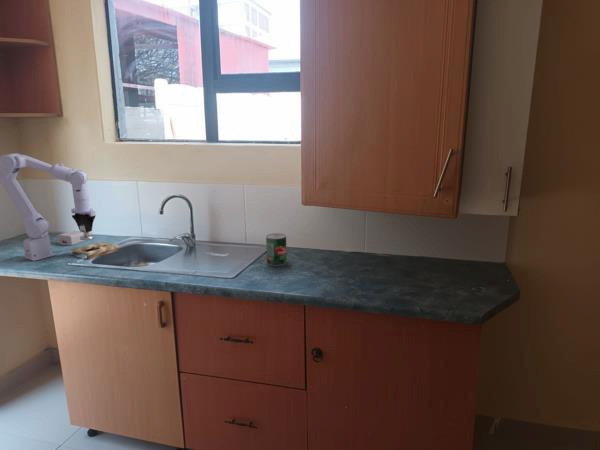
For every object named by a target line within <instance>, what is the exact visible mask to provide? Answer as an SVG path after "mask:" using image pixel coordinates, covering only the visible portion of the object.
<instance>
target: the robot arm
mask: <svg viewBox="0 0 600 450" xmlns="http://www.w3.org/2000/svg"><path fill="white" fill-rule="evenodd" d="M22 168H33V169H36V170H39V171H41V172H42V171H43V172H45V173H49V174H50V176H51V177H52V178H55V179H58V180H61V181H64V182H67V183H69V184H70V185H71V187H72V190H71V191H72V197H73V203H74V208H71V211H70V212H71V214H72V215H71V218H72V219H73V220H74V221H75V223H76V226H77V227H78V231H80V225H82V224H84V225H85V230H86V232H89V233H91V232H92V231H93V227H94V226H93V225H94V222H95V221H94V220H95V219H96V217H97V216H96V211H95V210H93V209H94V208H92V207H91V206H90V205H91V204H90V198H89V190H88V185H87V184H88V183H87V181H88V174H86V172H84V171H83V170H81V169H80V170H79V169H78V170H76V168H74V167H73V168H71V167H68V166H65V165H64V164H63V163H55V164H53V165H52V164H49V163H47V162H45V161H42V160H40V159H36V158H34V157H31V156H29V155H26V154H20V153H18V152H13V153H11V154H10V153H9V154H2V155H1V156H0V183H1V185H2V187H3V188H4V190H5V192H6V193H7V195H9V197H10V199H11V201H12V202H13V204H14V206H15V207H16V209H17V210H18V212H19V214H20V215H21V217H22V219H23V222H22V223H23V225H24V227H25V228H24V229H25V233H26V235H27V236H28V238H25V239H24V240H23V242H22V245H23V246H22V247H23V252H24V259H27V260H30V261H33V262H34V261H38V260H43V259H46V258H51V257H55V256H57V254H56V253H54V252H53V251H52V247H51V240H50V235H49V232H48V231H49V230H50V226H51V225H50V223H49V221H48V220H47V219H45V218H44V217H43V216H42V214H40V213H39V212H37V210H36V209H35V208H34V206H33V204H32V203H31V201H30V198H28V196H27V195H26V193H25V191H24V190H23V187H22V186H21V185H20V183H19V182H18V180H17V176H18V173H19V171H20V170H21V169H22Z"/></svg>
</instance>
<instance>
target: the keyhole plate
mask: <svg viewBox="0 0 600 450" xmlns="http://www.w3.org/2000/svg"><path fill="white" fill-rule="evenodd" d="M71 250H72V251H71V252H72V256H78V255H84V256H86V259H87V260H91V259H96V258H99V257H103V256H106V255H110V254H112V253H116V252H120V251H119V245H117V244H113V243H109V242H104V241H101V242H97V243H92V244H90V245H89V244H88V245H85V246H82V247H80V246H79V247H78V248H73V249H71Z"/></svg>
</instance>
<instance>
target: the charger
mask: <svg viewBox="0 0 600 450" xmlns="http://www.w3.org/2000/svg"><path fill="white" fill-rule="evenodd" d="M92 234H93V232H92V231H90V232H89V235H92ZM81 236H84V232H80V230H71V231H68V232H64V233H60V234H57V235H56V239H57V244H58V245H64V246H70V247H71V246H75V245H77V244H81V243H84V242H87V241H88V240H80V237H81Z"/></svg>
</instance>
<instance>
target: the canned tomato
mask: <svg viewBox="0 0 600 450" xmlns="http://www.w3.org/2000/svg"><path fill="white" fill-rule="evenodd" d="M265 244H266V247H265V248H266V264H267V265H268V266H271V267H272V266H273V267H280V266H285V265H287V263H288V259H287V258H288V255H287V254H288V252H287V234H285V233H284V234H283V233H280V232H279V233H270V234H267V235H266V236H265Z"/></svg>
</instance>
